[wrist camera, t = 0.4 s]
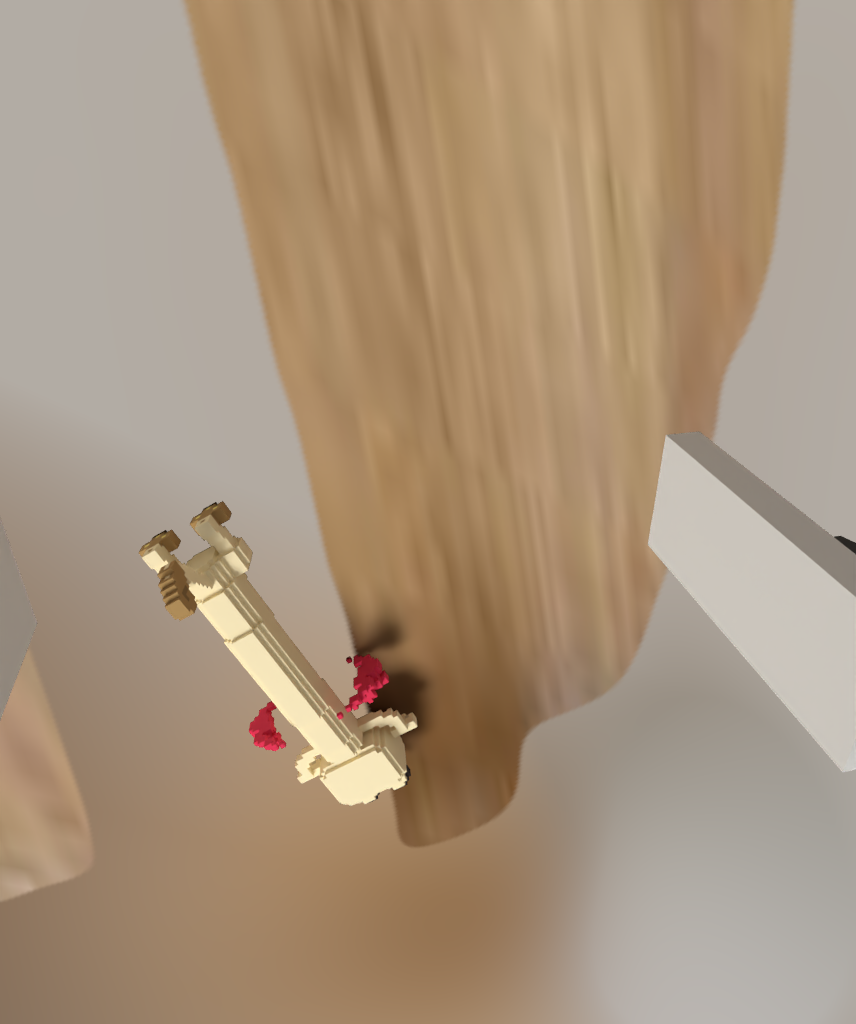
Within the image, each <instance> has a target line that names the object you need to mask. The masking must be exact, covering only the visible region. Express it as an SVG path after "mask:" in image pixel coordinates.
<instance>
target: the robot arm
mask: <svg viewBox="0 0 856 1024" xmlns="http://www.w3.org/2000/svg"><path fill="white" fill-rule="evenodd" d="M648 545H649V547H650V548H651V549H652V550H653V551H654V552H655V554H656V555H657V556H658V557H659V558H660V559H661V561H662V562H663V563H664V564H665V565H666V566H667V568H668V569H669V570H670V571H671V572H672V573H673V575H674V576H675V577H676V578H677V579H678V580H679V582H680V583H681V584H682V585H683V586H684V587H685V588H686V590H687V591H688V592H689V593H690V594H691V596H692V597H693V598H694V599H695V600H696V602H698V604H699V605H700V606H701V607H702V608H703V610H704V611H705V612H706V613H707V614H708V616H710V618H711V619H712V620H713V621H714V623H715V624H716V625H717V626H718V627H719V628H720V630H721V631H722V632H723V633H724V634H725V635H726V637H727V638H728V639H729V640H730V641H731V642H732V644H733V645H734V646H735V647H736V648H737V649H738V651H739V652H740V653H741V654H742V655H743V656H744V658H745V659H746V660H747V661H748V662H749V663H750V664H751V666H752V667H753V668H754V669H755V670H756V672H757V673H758V674H759V675H760V676H761V677H762V678H763V679H764V681H765V682H766V683H767V684H768V686H769V687H770V688H771V689H772V690H773V691H774V693H775V694H776V695H777V696H778V697H779V698H780V700H781V701H782V702H783V703H784V704H785V705H786V706H787V708H788V709H789V710H790V711H791V712H792V714H793V715H794V716H795V717H796V718H797V719H798V721H799V722H800V723H801V724H802V725H803V726H804V728H805V729H806V730H807V731H808V732H809V733H810V735H811V736H812V737H813V738H814V739H815V740H816V742H817V743H818V744H819V745H820V746H821V747H822V749H823V750H824V751H825V752H826V753H827V754H828V756H829V757H830V758H831V759H832V760H833V761H834V762H835V764H836V765H837V766H838V767H839V768H840V770H841V771H842V772H846V771H851V770H856V543H855V542H852V541H850V540H848V539H846V538H844V537H842V536H836V537H833V536H832V535H830V534H829V533H828V532H827V531H825V530H824V529H822V528H821V527H820V526H819V525H818V524H816V523H815V522H814V521H813V520H811V519H810V518H809V517H807V516H806V515H805V514H803V513H802V512H801V511H800V510H799V509H797V508H796V507H795V506H793V505H792V504H791V503H789V502H788V501H787V500H786V499H785V498H783V497H782V496H781V495H779V494H778V493H777V492H776V491H774V490H773V489H772V488H770V487H769V486H768V485H767V484H765V483H764V482H763V481H762V480H760V479H759V478H758V477H756V476H755V475H754V474H753V473H751V472H750V471H749V470H747V469H746V468H745V467H744V466H743V465H741V464H740V463H739V462H737V461H736V460H735V459H734V458H732V457H731V456H730V455H728V454H727V453H726V452H725V451H723V450H722V449H721V448H719V447H718V446H717V445H716V444H714V443H713V442H712V441H711V440H709V439H708V438H707V437H706V436H704V435H703V434H702V433H700V432H690V433H681V434H671V435H666V438H665V444H664V451H663V457H662V463H661V469H660V475H659V481H658V487H657V493H656V499H655V505H654V511H653V517H652V523H651V529H650V535H649V541H648ZM36 625H37V621H36V618H35V615H34V612H33V609H32V607H31V604H30V601H29V598H28V595H27V592H26V589H25V586H24V584H23V581H22V578H21V575H20V572H19V569H18V566H17V563H16V561H15V558H14V555H13V552H12V549H11V546H10V544H9V540H8V537H7V534H6V532H5V529H4V526H3V523H2V520H1V517H0V719H1V717H2V714H3V712H4V709H5V706H6V704H7V701H8V699H9V696H10V693H11V691H12V688H13V686H14V683H15V680H16V678H17V675H18V672H19V670H20V667H21V665H22V662H23V659H24V657H25V654H26V652H27V649H28V646H29V644H30V641H31V639H32V636H33V633H34V631H35V628H36Z"/></svg>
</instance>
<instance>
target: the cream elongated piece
mask: <svg viewBox="0 0 856 1024" xmlns="http://www.w3.org/2000/svg"><path fill="white" fill-rule="evenodd" d="M230 517H231V511H230V510H229V509H228V507H227V506H226V505H225V503H224V502H223V501H222V502H220V503H219V504H217V502H215V503H213V504H211V505H209V506H208V507H206V508H204V509H203V511H202V513H201V514H199V515H197V516H195V517H193V519H192V521H191V523H190V525H191V526H192V528H193V529H194V530H195V531H196V533H197V534H198V535H199V536H201V537H202V539H203V540H207V541H208V543H209V544H210V545H211V547H209V548H208V549H206V550H204V551H202V552H200V553H199V554H197V555H195V556H193V558H192V559H191V560H189V561H188V562H187V564H186V565H185V563H183V564H181V562H180V561H178V559H177V558H176V557H175V555H174V554H173V555H171V554H170V552H171V551H173V550H175V549H177V548H178V546H179V544H180V542H181V540H180V539H179V538H178V537H177V535H176V534H175V533H174V532H173V530H170V531H168V532H167V531H166V530H164V531H163V532H161V533H159V534H157V535H156V536H154V537H153V538H152V540H151V541H150V542H148V543H147V544H145V545H143V546H142V548H141V549H140V551H139V554H140V555H141V556H142V558H143V560H144V561H145V562H146V563H147V565H148V566H149V567H150V568H151V569H153V568H154V569H155V570H156V571H157V573H158V577H159V578H160V579H161V580H160V583H159V585H158V586H159V587H160V588H161V594H162V595H163V597H164V598H163V601H164V602H165V603H166V605H165V608H166V609H167V610H168V612H169V613H170V614H171V615H172V616H173V618H174V619H175V620H176V619H179V620H182V619H184V618H186V617H188V616H190V615H192V614H194V613H195V610H196V607H197V606H198V608H199V609H200V610H201V611H202V612H203V614H204V615H205V616H206V618H207V619H208V620H209V621H210V622H211V624H212V625H213V626H214V627H215V628H216V630H217V631H218V632H219V633H220V635H221V636H222V637H223V638H224V640H225V641H224V643H225V645H226V646H227V647H228V648H229V649H230V651H231V652H232V653H233V654H234V655H235V657H236V658H237V659H238V660H239V662H240V663H241V664H242V665H243V667H244V668H245V669H246V670H247V671H248V672H249V674H250V675H251V676H252V677H253V679H254V680H255V681H256V682H257V684H259V686H260V687H261V688H262V689H263V691H264V692H265V693H266V695H267V696H268V697H269V698H270V699H271V702H269V703H268V704H267V706H266V707H265V708H263V709H261V710H259V716H257V717H255V719H254V721H253V722H251V723H250V728H249V732H250V734H252V736H253V737H255V738H254V744H255V745H256V746H259V747H264V748H265V749H266V750H272V751H276V750H278V749H279V746H280V747H281V748H284V747H286V743H285V741H283V740H282V739H281V734H280V733H279V732H278V733H276V728H275V727H274V718H273V717H272V716H271V714H272V712H271V711H272V710H274V709H276V707H277V708H278V709H279V710H280V712H281V713H282V714H283V715H284V716H285V718H286V719H287V720H288V721H289V723H290V724H291V725H292V726H295V727H296V728H297V729H298V730H299V731H300V732H301V734H302V735H303V736H304V737H305V738H306V740H307V741H308V742H309V743H310V745H309V746H307V747H305V748H303V749H302V752H301V754H299V755H297V758H296V760H295V767H296V769H297V770H298V776H297V778H298V780H299V781H300V782H301V783H304V782H306V781H308V780H310V779H312V778H314V777H316V776H318V775H320V780H321V781H322V782H323V783H324V784H325V785H326V787H327V788H328V789H329V790H330V792H331V793H332V794H333V795H334V796H335V798H336V799H337V800H338V801H339V802H340V803H343V804H344V805H345V804H349V805H350V806H351V805H354V804H356V803H362V802H363V803H364V804H367V803H370V802H372V801H374V800H376V799H378V795H379V792H381V791H383V790H385V789H391V788H393V789H394V790H397V789H399V788H401V787H403V786H405V785H407V781H408V780H409V776H411V774H410V769H409V767H408V766H407V765H406V756H405V745H404V743H403V742H402V738H401V737H400V735H402V734H404V733H406V732H408V731H410V730H412V729H414V728H416V727H418V726H417V718H416V717H415V715H414V714H413V712H412V713H410V714H408V715H406V714H405V713H404V714H402V715H400V714H399V712H398V711H397V710H396V711H394V712H393V710H392V708H389V709H387V711H385V712H382V710H379V711H377V712H375V713H374V712H373V713H372V712H370V713H368V714H366V715H364V716H363V717H360V718H358V719H356V718H355V716H354V715H353V714H352V712H351V711H352V708H353V709H354V710H356V709H358V705H360V704H362V703H364V702H365V703H366V702H369V704H370V703H372V702H374V698H376V697H377V693H376V690H378V689H380V688H382V687H383V685H384V684H386V683H388V682H389V676H388V675H387V674H386V672H385V671H382V664H381V663H380V661H379V660H378V659H377V658H376V659H374V658H371V656H370V655H369V654H368V655H366V656H364V657H362V656H358V655H356V656H354V666H355V667H358V666H360V665H361V667H359V668H358V676H357V677H355V678H354V688H355V689H356V690H357V689H358V694H356V695H354V696H352V697H350V701H349V705H347V706H344V705H343V704H342V702H341V701H340V700H339V699H338V697H337V696H336V695H335V693H334V692H333V691H332V689H331V688H330V687H329V685H328V684H327V683H326V682H325V680H324V679H323V678H322V679H321V678H320V677H319V675H318V674H317V673H316V672H315V670H314V669H313V668H312V666H311V665H310V664H309V663H308V661H307V660H306V659H305V657H304V656H303V655H302V654H301V652H300V651H299V649H298V648H297V647H296V646H295V644H294V643H293V642H292V640H291V639H290V638H289V637H288V635H287V634H286V633H285V631H284V630H283V629H282V627H281V626H280V625H279V623H278V622H277V621H276V620H275V618H274V614H273V612H272V611H271V610H270V609H269V607H268V606H267V605H266V603H265V602H264V601H263V600H262V598H261V597H260V595H259V594H258V593H257V592H256V590H255V589H254V588H253V586H252V585H251V584H250V582H249V581H248V580H247V575H246V574H245V572H246V571H248V569H249V566H250V562H251V557H252V551H251V549H250V548H249V547H248V545H247V544H246V543H245V541H244V540H243V539H242V537H241V538H236V537H235V536H233V537H232V535H231V534H230V533H229V531H228V530H227V529H226V527H225V526H224V527H222V525H221V524H222V523H224V522H226V521H228V520H229V519H230ZM195 600H196V602H195ZM346 661H347V662H348V663H351V662H352V658H351V657H350V656H349V657H347V658H346ZM319 754H321V759H320V758H319V759H317V760H316V756H317V755H319Z"/></svg>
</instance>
